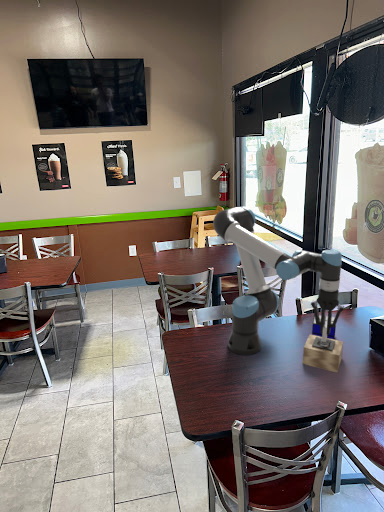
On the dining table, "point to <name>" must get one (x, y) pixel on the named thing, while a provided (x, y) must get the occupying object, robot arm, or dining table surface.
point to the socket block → (322, 354)
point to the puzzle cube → (317, 328)
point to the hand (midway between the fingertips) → (324, 340)
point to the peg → (324, 342)
